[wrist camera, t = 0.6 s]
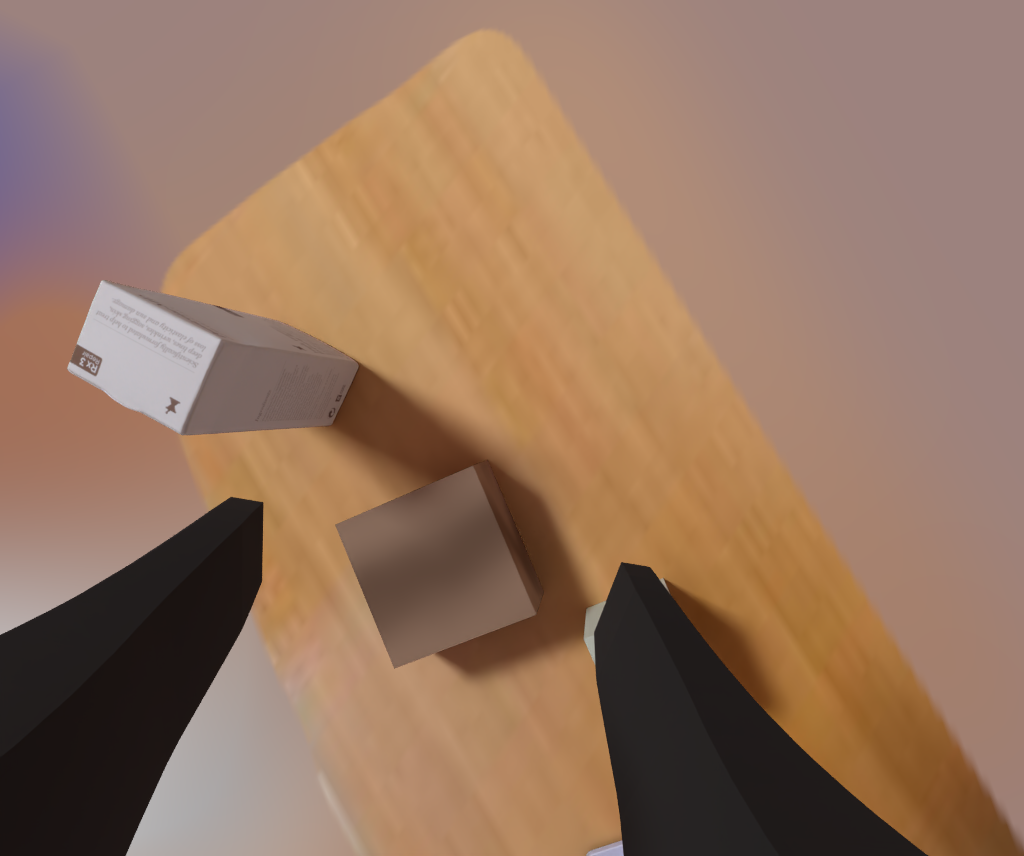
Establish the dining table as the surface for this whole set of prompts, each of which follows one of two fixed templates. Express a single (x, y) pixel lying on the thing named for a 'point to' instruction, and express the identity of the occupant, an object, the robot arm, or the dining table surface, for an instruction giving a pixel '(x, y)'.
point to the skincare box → (207, 364)
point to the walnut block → (442, 565)
